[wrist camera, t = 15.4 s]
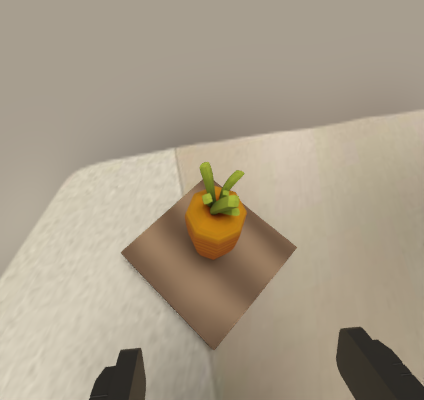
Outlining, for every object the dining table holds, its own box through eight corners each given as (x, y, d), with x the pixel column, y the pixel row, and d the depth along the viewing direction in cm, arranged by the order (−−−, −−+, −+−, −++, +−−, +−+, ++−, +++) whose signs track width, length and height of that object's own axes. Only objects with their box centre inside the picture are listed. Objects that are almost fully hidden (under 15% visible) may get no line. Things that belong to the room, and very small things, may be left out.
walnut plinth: (207, 187, 38) (207, 175, 35) (289, 254, 34) (297, 247, 31) (127, 259, 33) (120, 252, 30) (212, 349, 29) (214, 350, 26)
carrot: (188, 231, 32) (180, 152, 18) (231, 229, 32) (253, 150, 19) (189, 275, 29) (180, 220, 16) (235, 272, 30) (264, 217, 16)
